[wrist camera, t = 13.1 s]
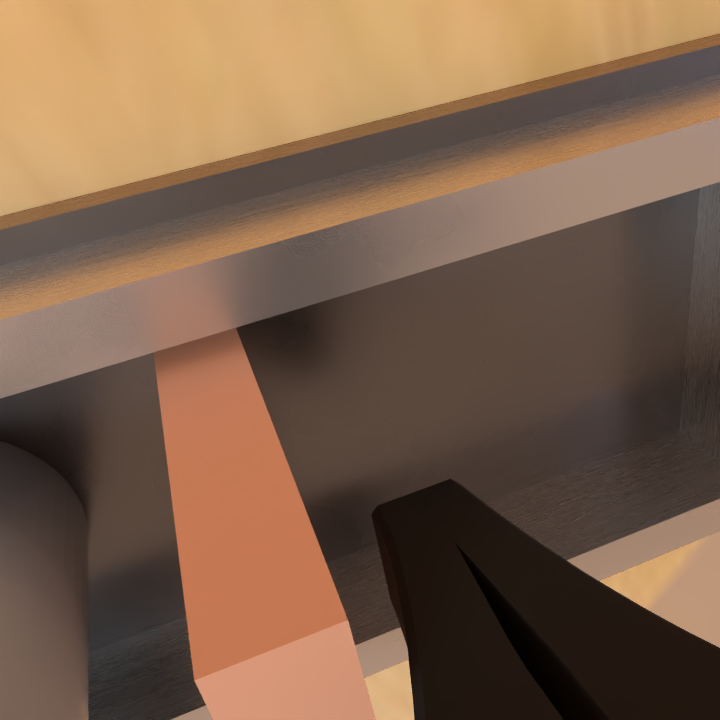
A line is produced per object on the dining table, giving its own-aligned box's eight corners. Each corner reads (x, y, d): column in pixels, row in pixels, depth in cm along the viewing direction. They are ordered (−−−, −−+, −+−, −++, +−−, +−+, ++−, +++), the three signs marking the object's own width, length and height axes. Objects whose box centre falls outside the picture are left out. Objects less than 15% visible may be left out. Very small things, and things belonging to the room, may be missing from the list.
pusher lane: (741, 28, 13) (1046, 42, 9) (699, 442, 18) (879, 577, 14) (-669, 386, 9) (-1365, 734, 5) (-211, 790, 14) (-349, 1131, 10)
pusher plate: (223, 295, 11) (346, 618, 5) (307, 570, 14) (440, 955, 8) (148, 316, 11) (194, 680, 5) (251, 591, 14) (350, 1001, 8)
